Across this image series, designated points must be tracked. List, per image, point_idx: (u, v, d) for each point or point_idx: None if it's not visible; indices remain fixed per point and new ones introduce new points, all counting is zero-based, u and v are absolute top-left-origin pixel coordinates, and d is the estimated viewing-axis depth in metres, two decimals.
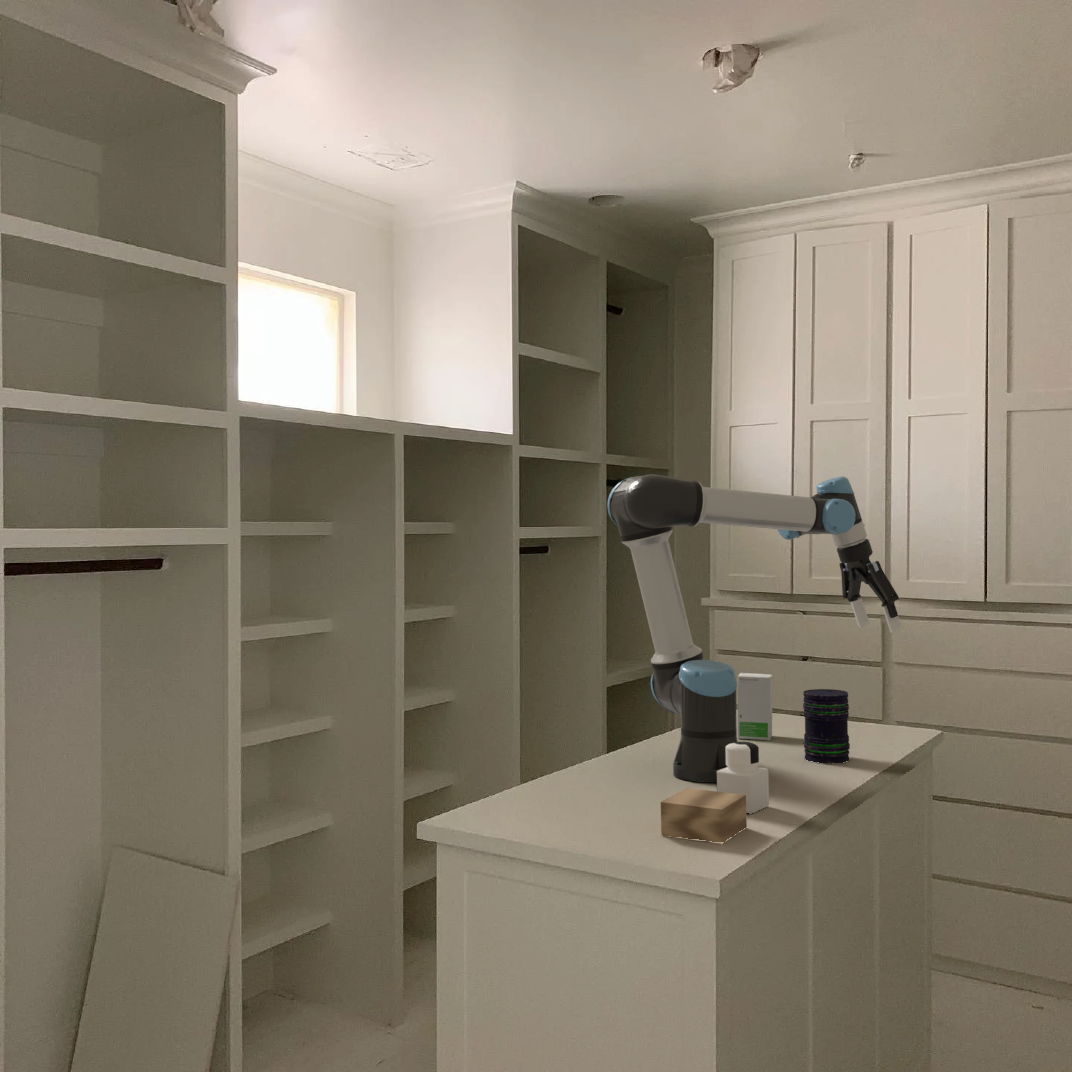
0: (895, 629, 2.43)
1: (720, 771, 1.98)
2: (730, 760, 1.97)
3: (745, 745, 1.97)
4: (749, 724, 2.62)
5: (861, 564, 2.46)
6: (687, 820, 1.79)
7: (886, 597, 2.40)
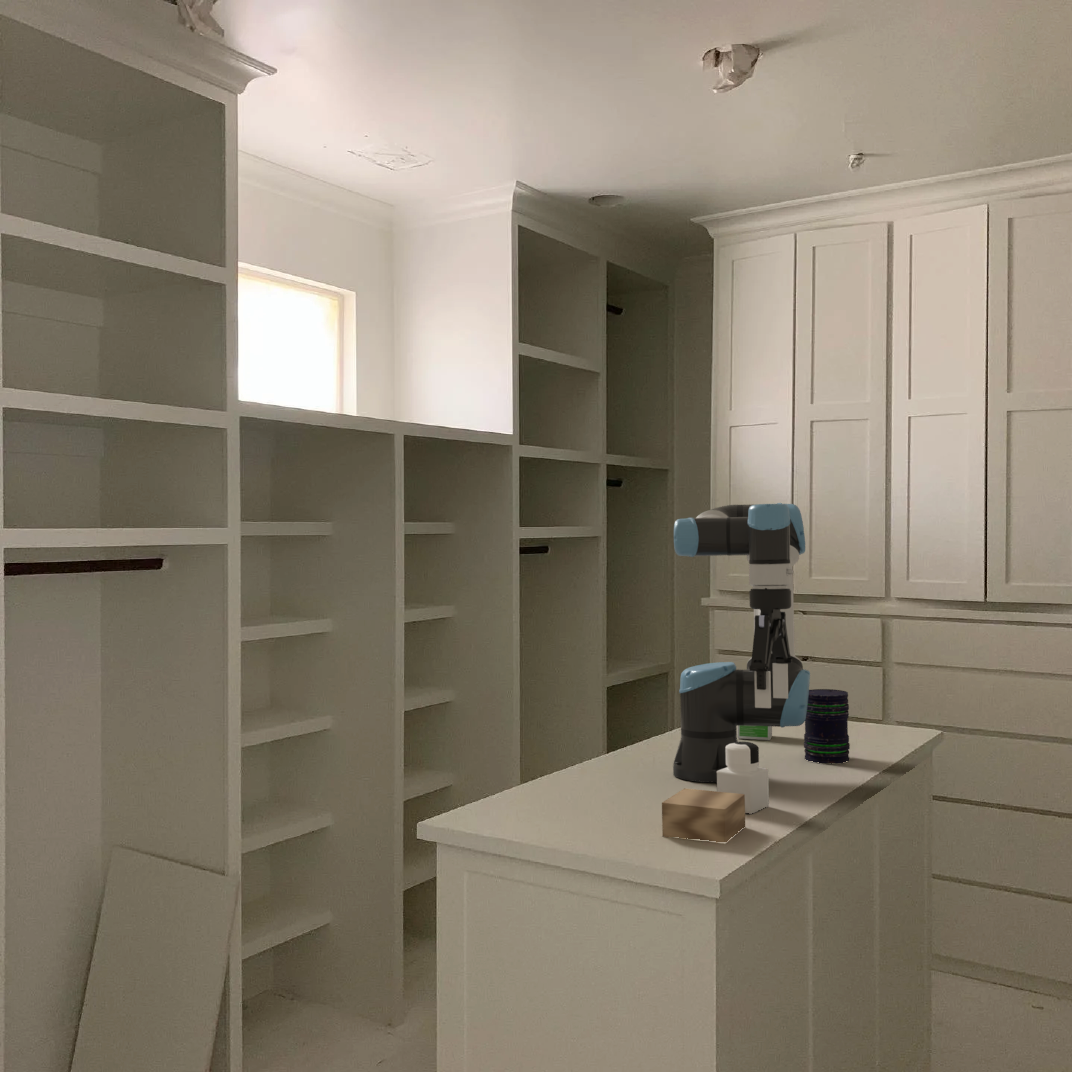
0: (760, 705, 1.91)
1: (720, 771, 1.98)
2: (730, 760, 1.97)
3: (745, 745, 1.97)
4: None
5: None
6: (689, 820, 1.79)
7: None
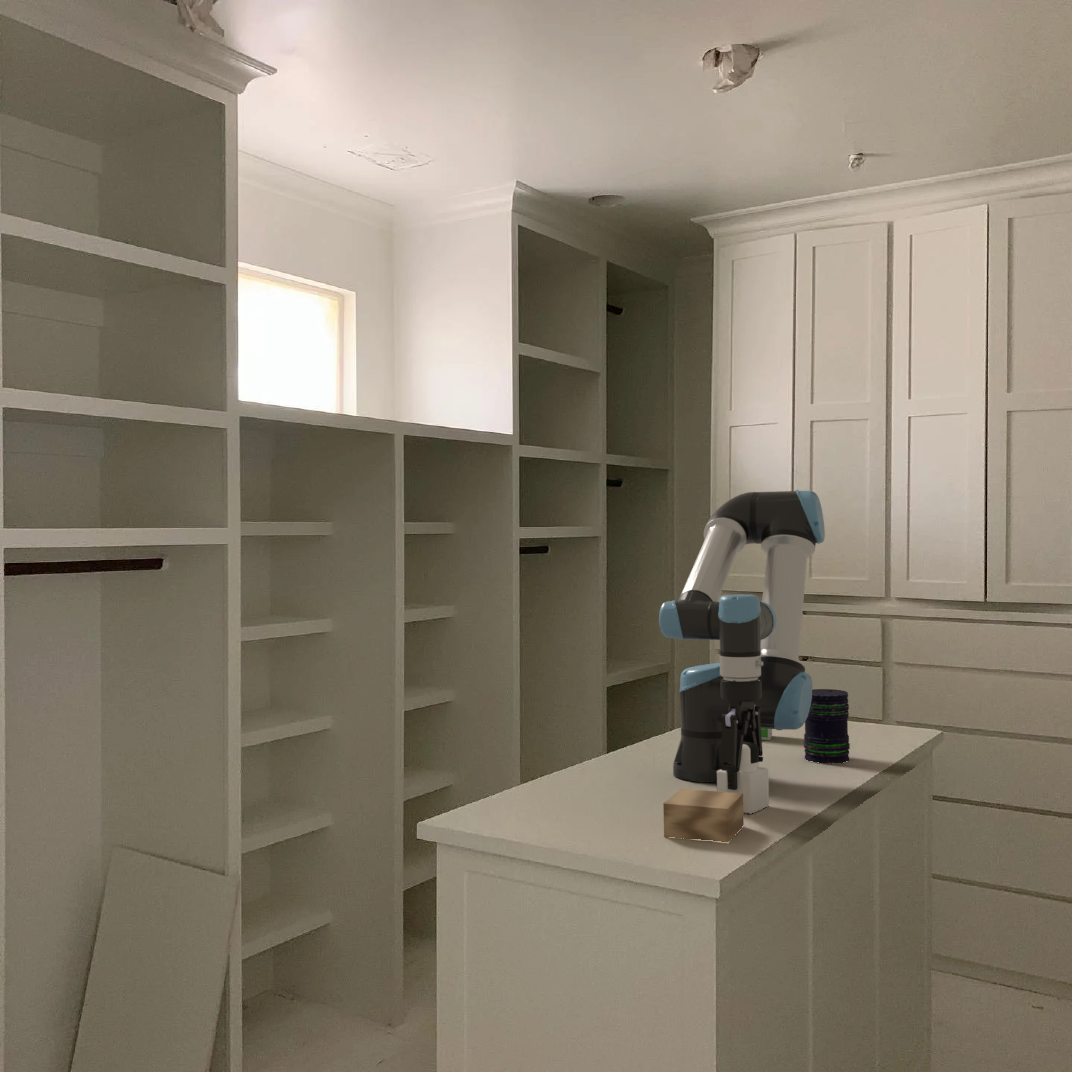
0: None
1: (720, 771, 1.98)
2: None
3: (745, 745, 1.97)
4: None
5: None
6: (691, 821, 1.78)
7: None
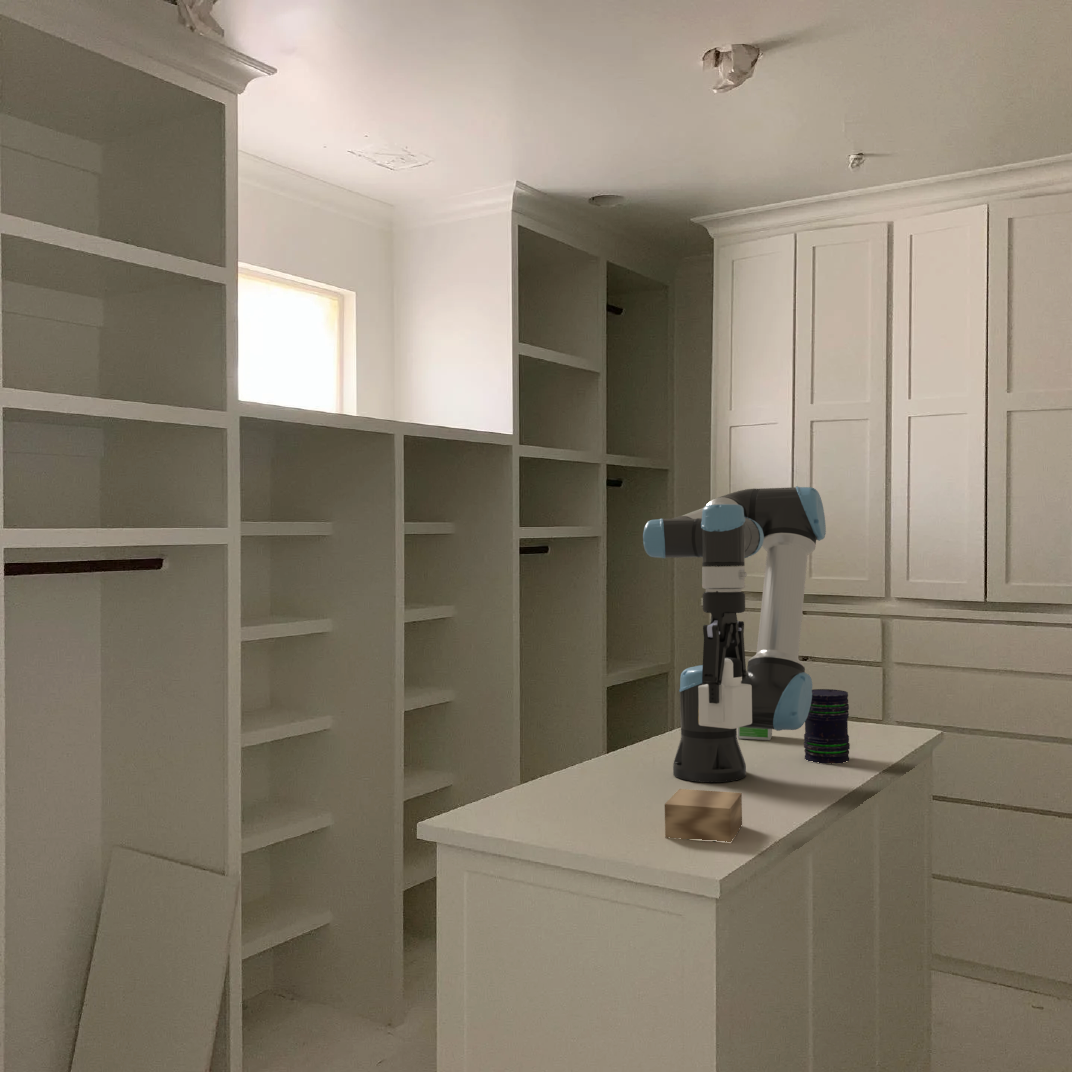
0: (713, 719, 1.88)
1: (702, 686, 1.91)
2: None
3: (728, 659, 1.90)
4: None
5: None
6: (693, 821, 1.78)
7: None
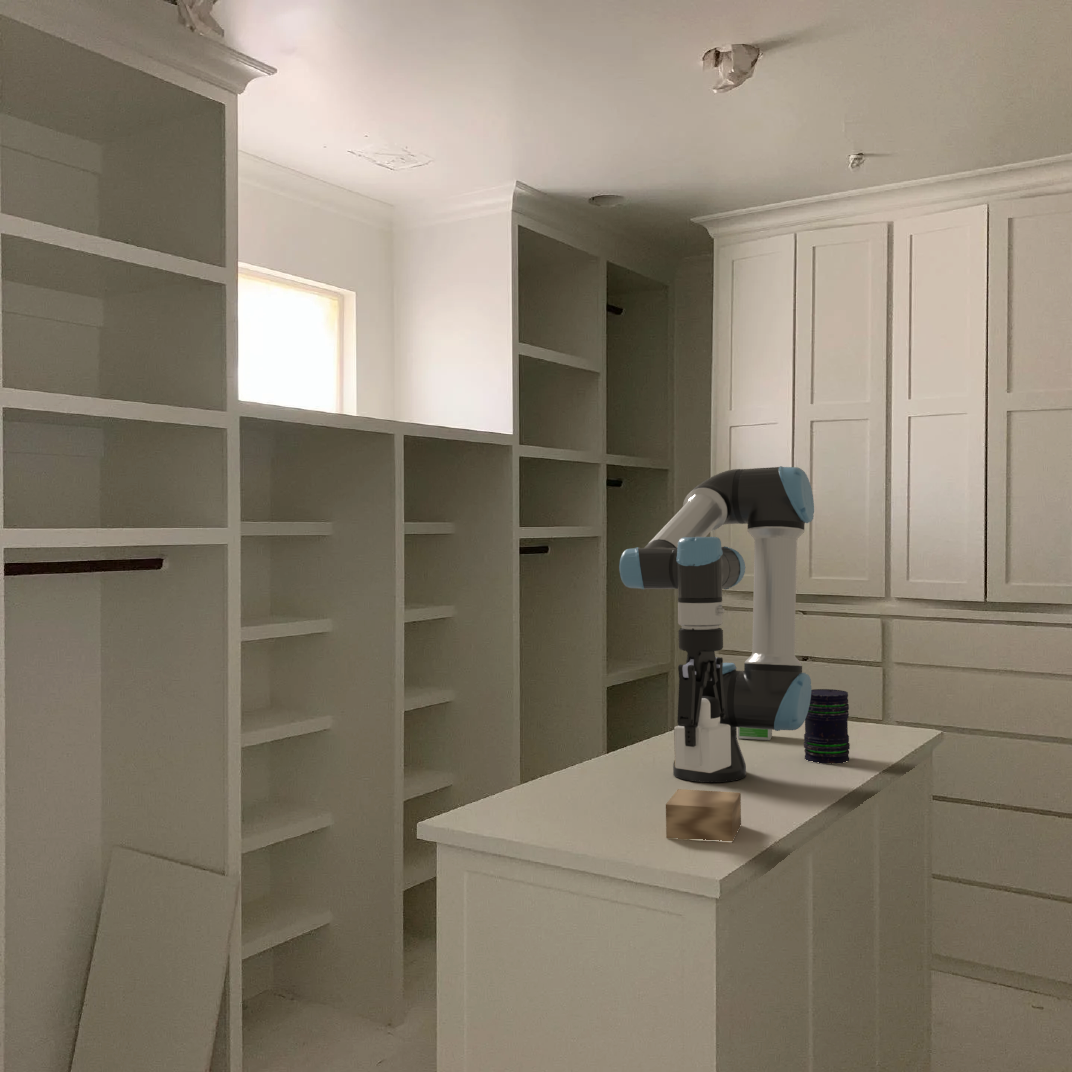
0: (690, 762, 1.80)
1: (678, 727, 1.82)
2: None
3: (705, 699, 1.81)
4: None
5: None
6: (694, 821, 1.78)
7: None
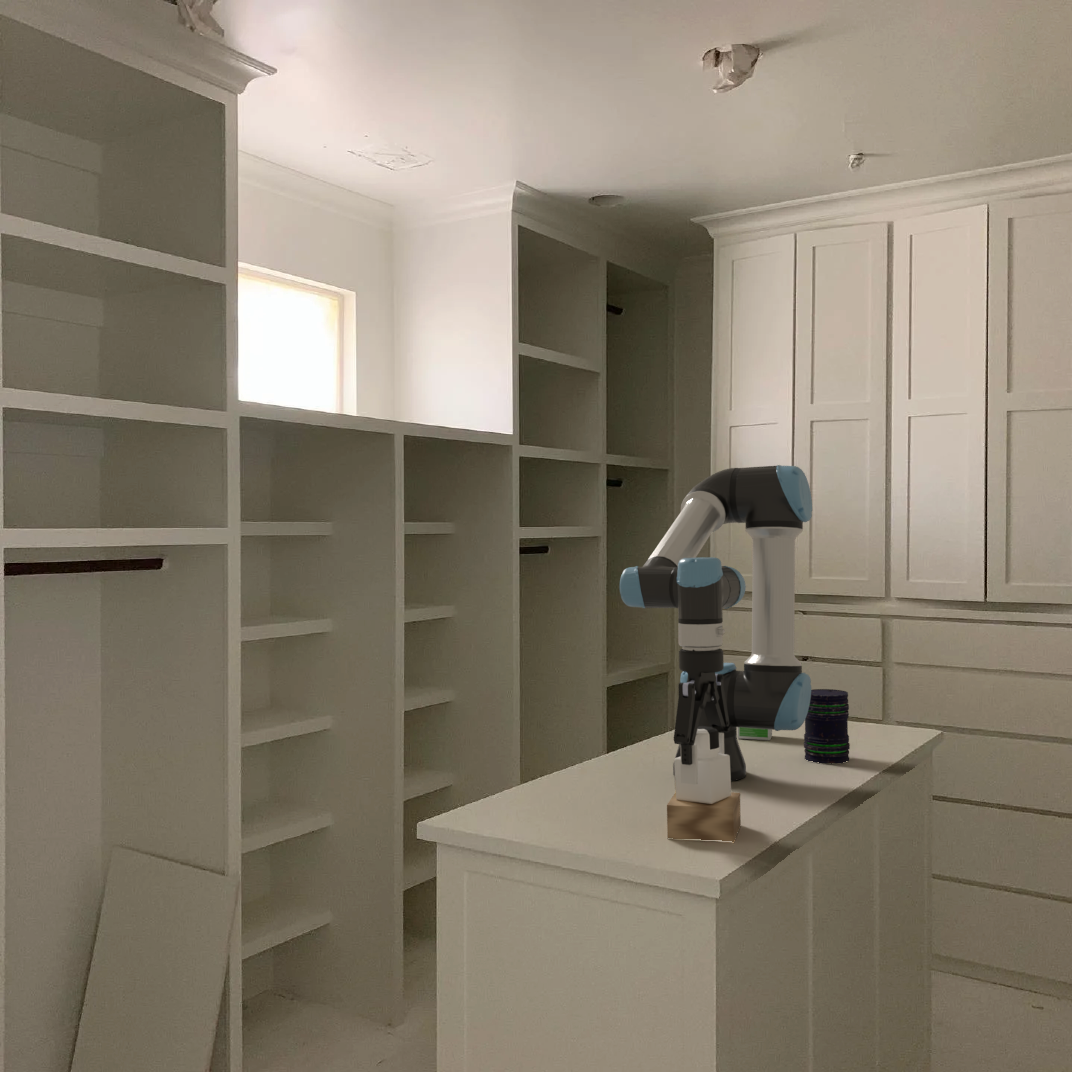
0: (686, 780, 1.78)
1: (678, 758, 1.82)
2: None
3: (704, 729, 1.82)
4: None
5: None
6: (696, 821, 1.78)
7: None
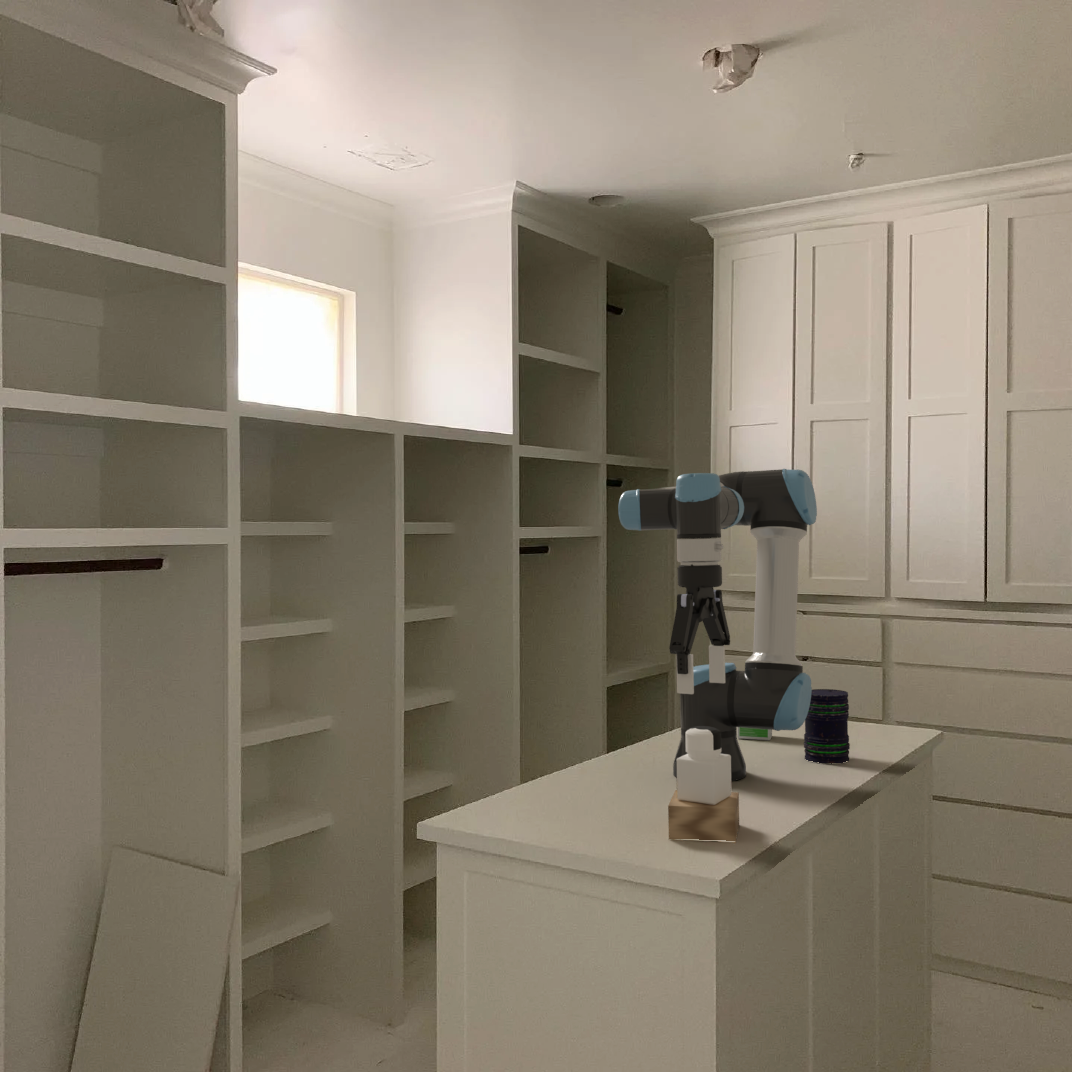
0: (682, 691, 1.77)
1: (680, 759, 1.82)
2: (691, 747, 1.81)
3: (707, 730, 1.81)
4: None
5: None
6: (697, 822, 1.78)
7: None
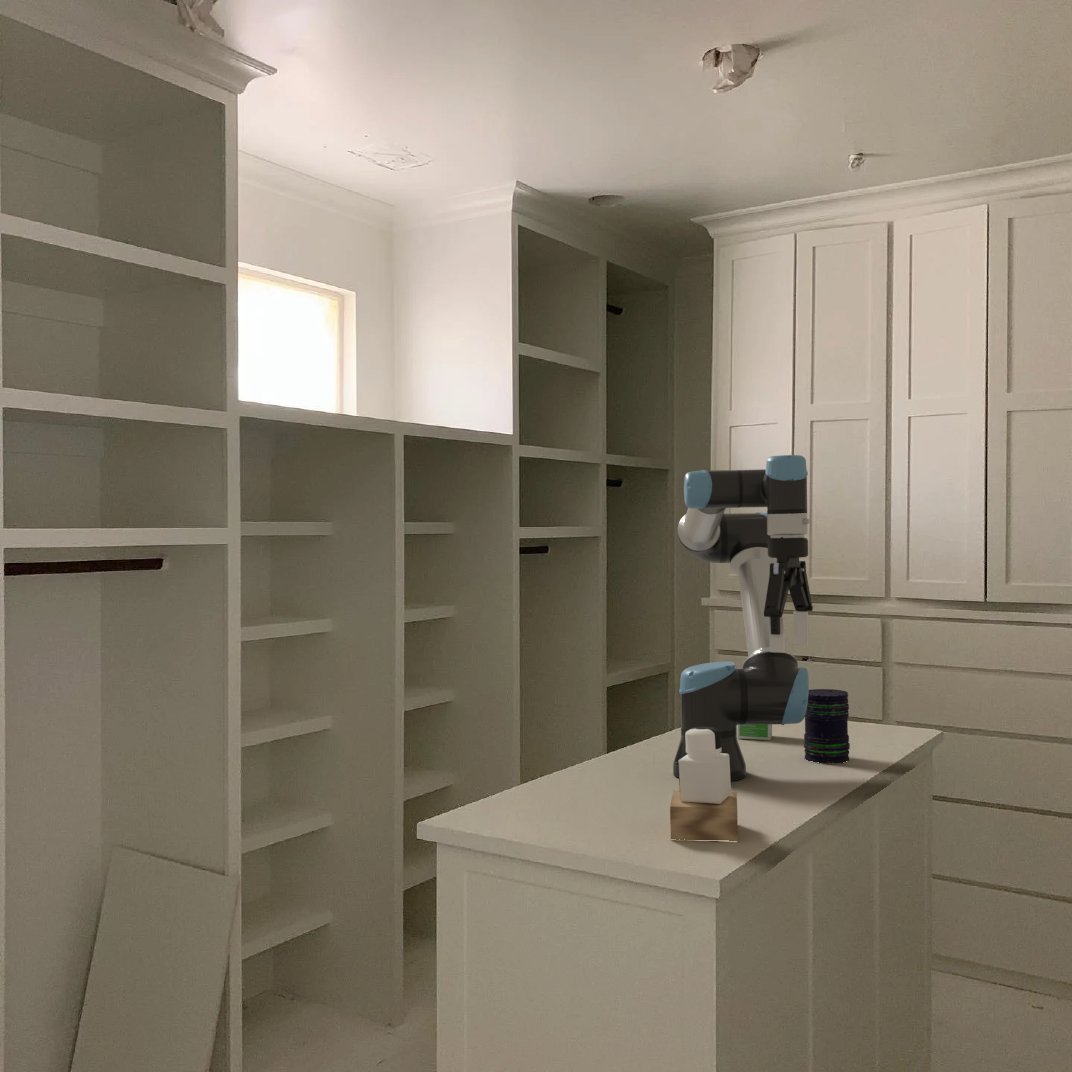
0: (774, 650, 1.98)
1: (682, 760, 1.81)
2: (693, 748, 1.81)
3: (708, 730, 1.81)
4: None
5: None
6: (699, 822, 1.78)
7: None
